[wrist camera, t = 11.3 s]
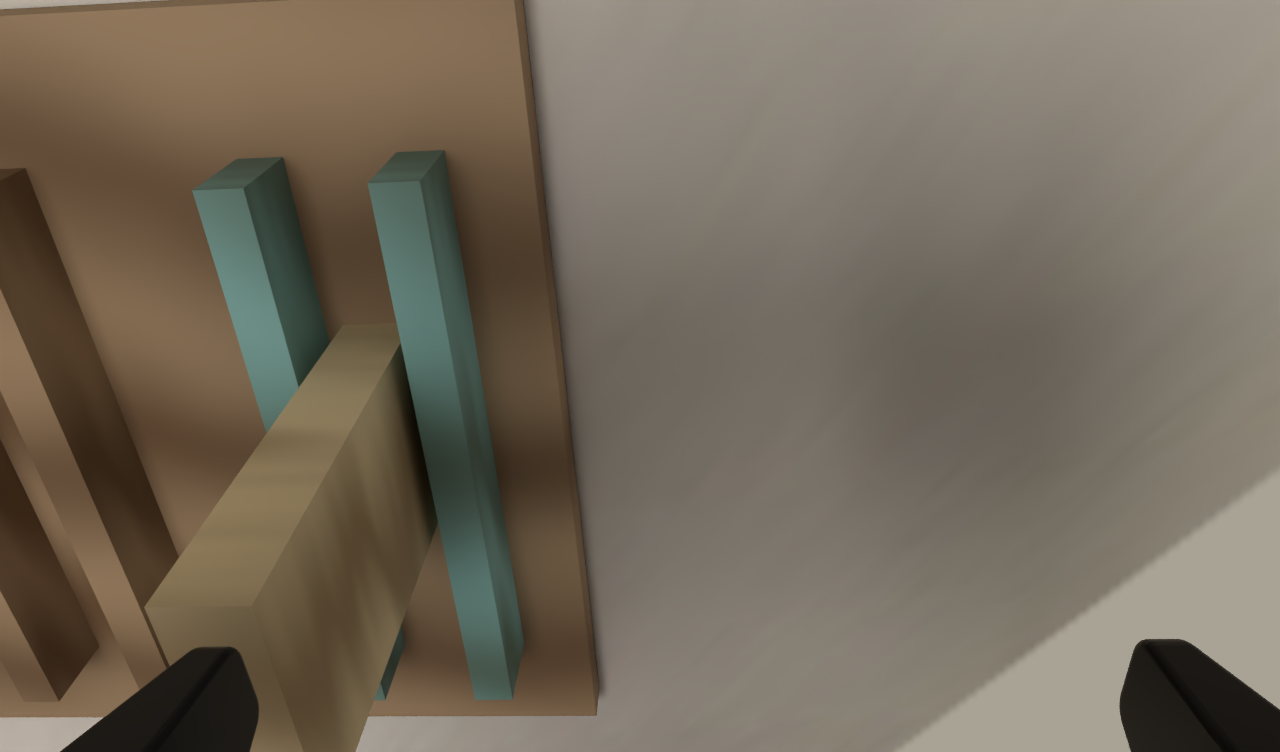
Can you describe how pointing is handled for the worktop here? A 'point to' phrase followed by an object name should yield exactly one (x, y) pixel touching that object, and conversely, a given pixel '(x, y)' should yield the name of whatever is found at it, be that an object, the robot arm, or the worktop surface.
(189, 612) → the tan rectangular block
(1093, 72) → the worktop surface
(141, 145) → the rack
